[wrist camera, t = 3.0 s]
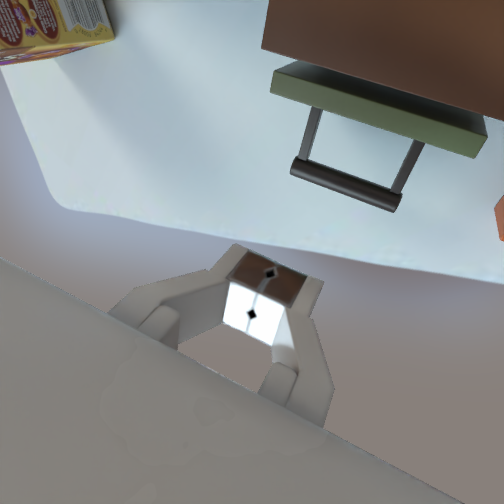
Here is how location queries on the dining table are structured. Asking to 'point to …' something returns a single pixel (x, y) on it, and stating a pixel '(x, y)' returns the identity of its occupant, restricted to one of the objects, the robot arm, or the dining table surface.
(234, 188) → the dining table surface
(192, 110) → the dining table surface
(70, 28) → the candy box
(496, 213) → the block
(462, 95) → the cabinet
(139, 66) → the dining table surface
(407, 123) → the drawer
